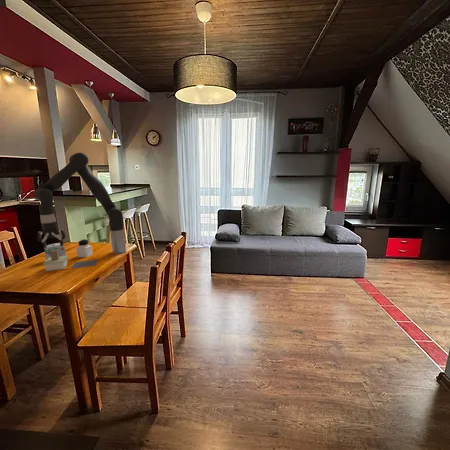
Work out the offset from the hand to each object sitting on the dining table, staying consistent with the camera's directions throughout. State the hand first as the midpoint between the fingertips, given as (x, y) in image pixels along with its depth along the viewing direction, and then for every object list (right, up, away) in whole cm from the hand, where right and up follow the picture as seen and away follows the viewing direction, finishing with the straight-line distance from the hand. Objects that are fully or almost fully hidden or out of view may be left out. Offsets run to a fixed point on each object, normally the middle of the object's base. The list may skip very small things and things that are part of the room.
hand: (53, 246), depth 158 cm
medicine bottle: (+6, -9, +25) cm, 27 cm away
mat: (+15, -12, +8) cm, 21 cm away
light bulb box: (-11, -11, +19) cm, 25 cm away
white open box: (0, -14, +3) cm, 14 cm away
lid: (0, -9, +2) cm, 9 cm away
